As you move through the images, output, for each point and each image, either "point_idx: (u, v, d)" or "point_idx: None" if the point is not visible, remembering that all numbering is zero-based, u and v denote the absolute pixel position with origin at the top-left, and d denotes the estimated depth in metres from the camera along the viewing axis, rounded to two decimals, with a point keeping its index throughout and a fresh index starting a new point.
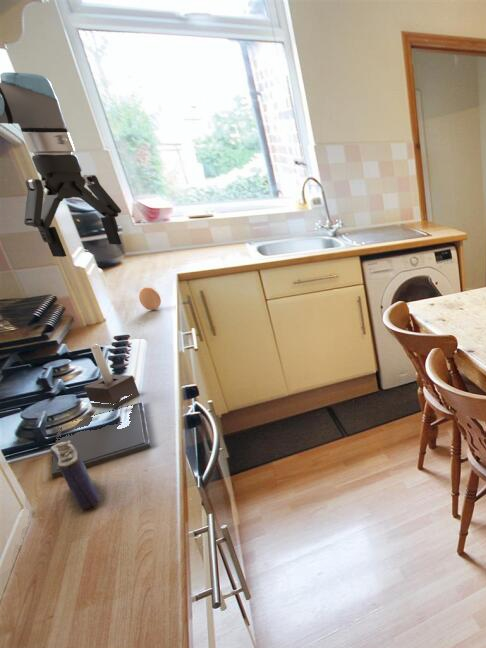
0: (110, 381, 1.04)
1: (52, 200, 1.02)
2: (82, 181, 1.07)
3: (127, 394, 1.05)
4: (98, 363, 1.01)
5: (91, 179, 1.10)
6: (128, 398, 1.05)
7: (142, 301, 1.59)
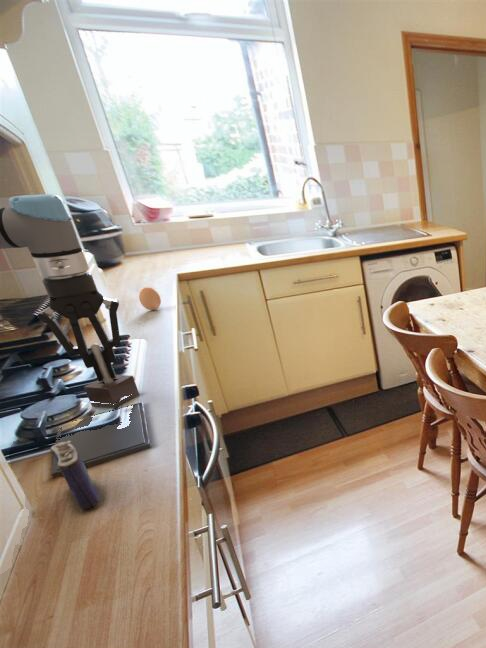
0: (110, 381, 1.04)
1: (72, 327, 0.96)
2: (97, 300, 0.98)
3: (127, 394, 1.05)
4: (98, 363, 1.01)
5: (111, 304, 0.99)
6: (128, 398, 1.05)
7: (142, 301, 1.59)
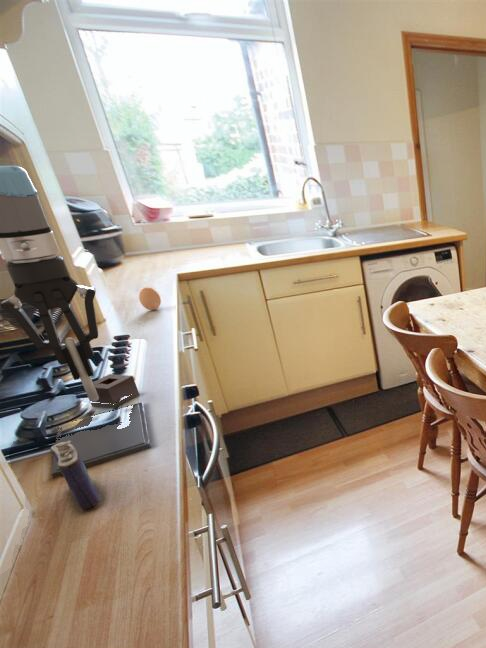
0: (87, 379, 0.92)
1: (41, 318, 0.85)
2: (70, 288, 0.86)
3: (127, 394, 1.05)
4: (73, 359, 0.90)
5: (86, 292, 0.88)
6: (128, 398, 1.05)
7: (142, 301, 1.59)
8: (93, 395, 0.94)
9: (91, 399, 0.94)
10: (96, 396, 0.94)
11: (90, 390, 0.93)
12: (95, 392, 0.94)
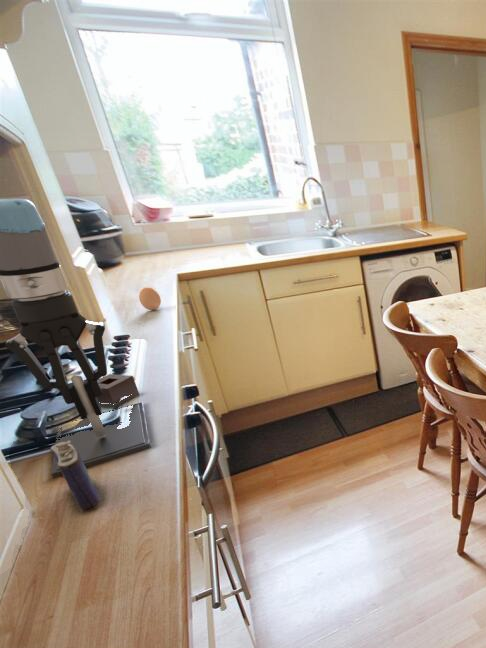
0: (95, 417, 0.88)
1: (48, 357, 0.81)
2: (78, 325, 0.82)
3: (127, 394, 1.05)
4: (80, 397, 0.86)
5: (95, 328, 0.84)
6: (128, 398, 1.05)
7: (142, 301, 1.59)
8: (100, 432, 0.90)
9: (98, 436, 0.90)
10: (103, 433, 0.90)
11: (98, 428, 0.89)
12: (102, 429, 0.90)
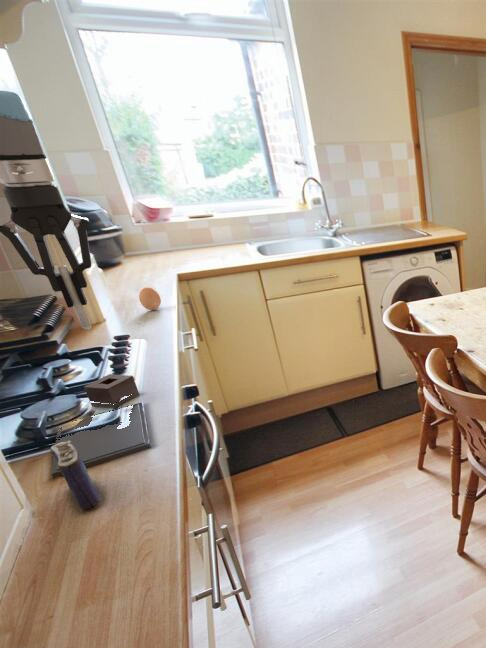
0: (81, 307, 0.96)
1: None
2: (64, 216, 0.90)
3: (127, 394, 1.05)
4: (67, 286, 0.94)
5: (80, 221, 0.92)
6: (128, 398, 1.05)
7: (142, 301, 1.59)
8: (86, 323, 0.97)
9: (84, 327, 0.98)
10: (89, 324, 0.98)
11: (83, 318, 0.97)
12: (88, 320, 0.98)
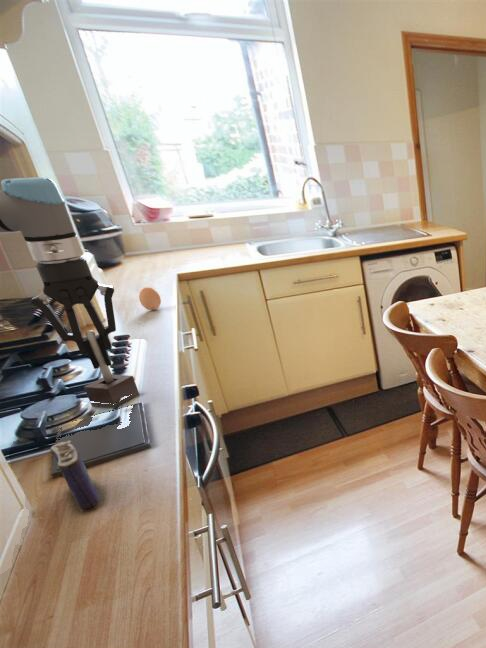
0: (105, 367, 1.03)
1: None
2: (91, 286, 0.96)
3: (127, 394, 1.05)
4: (93, 349, 1.00)
5: (106, 290, 0.98)
6: (128, 398, 1.05)
7: (142, 301, 1.59)
8: (110, 381, 1.04)
9: None
10: None
11: (108, 377, 1.03)
12: (112, 379, 1.04)
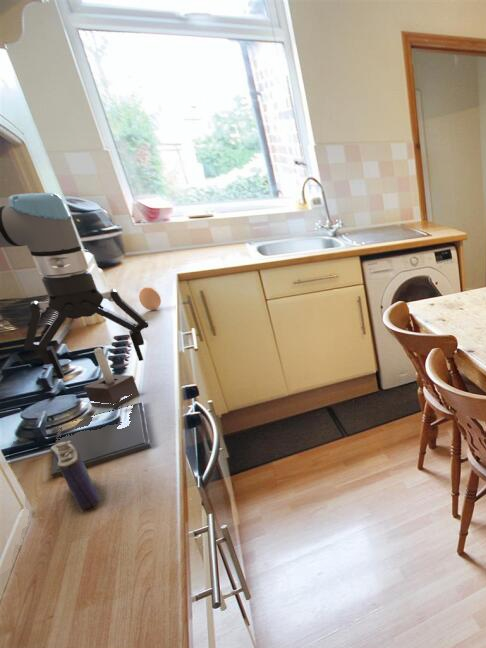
0: None
1: (53, 322, 0.94)
2: (96, 299, 0.97)
3: (127, 394, 1.05)
4: (101, 366, 1.01)
5: (111, 295, 0.99)
6: (128, 398, 1.05)
7: (142, 301, 1.59)
8: None
9: None
10: None
11: None
12: None
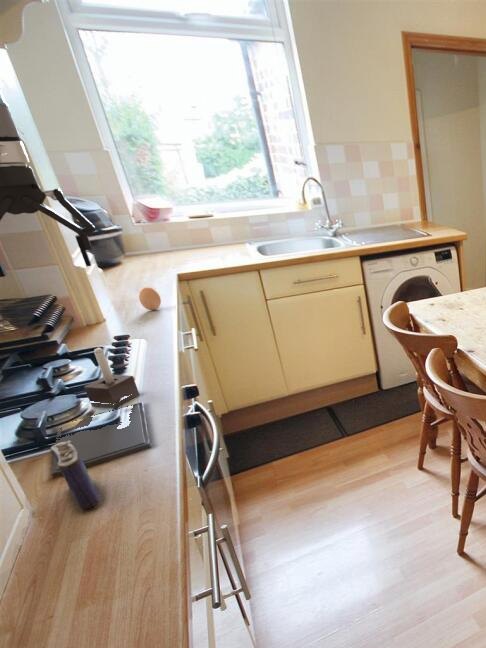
0: None
1: None
2: (38, 196, 0.95)
3: (127, 394, 1.05)
4: (101, 366, 1.01)
5: (54, 193, 0.97)
6: (128, 398, 1.05)
7: (142, 301, 1.59)
8: None
9: None
10: None
11: None
12: None
